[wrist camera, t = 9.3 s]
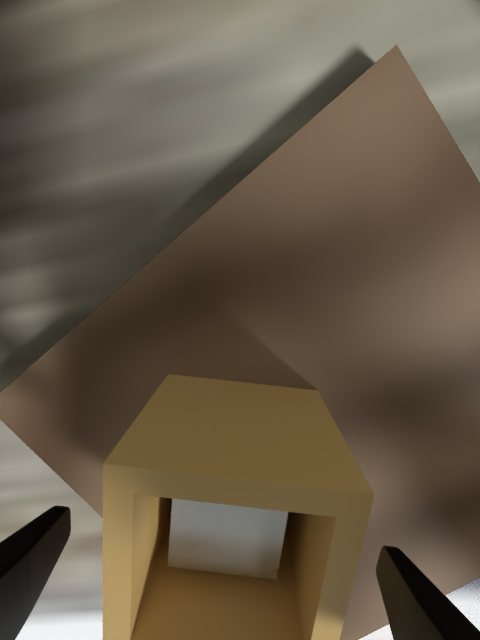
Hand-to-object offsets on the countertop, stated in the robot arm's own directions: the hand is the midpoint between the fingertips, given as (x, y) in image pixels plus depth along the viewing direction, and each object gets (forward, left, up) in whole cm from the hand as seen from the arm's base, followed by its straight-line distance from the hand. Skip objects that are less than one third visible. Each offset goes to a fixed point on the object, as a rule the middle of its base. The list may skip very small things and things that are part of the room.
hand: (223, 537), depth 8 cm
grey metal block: (0, 0, -5) cm, 5 cm away
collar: (0, 0, -4) cm, 4 cm away
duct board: (-2, -3, -5) cm, 6 cm away
